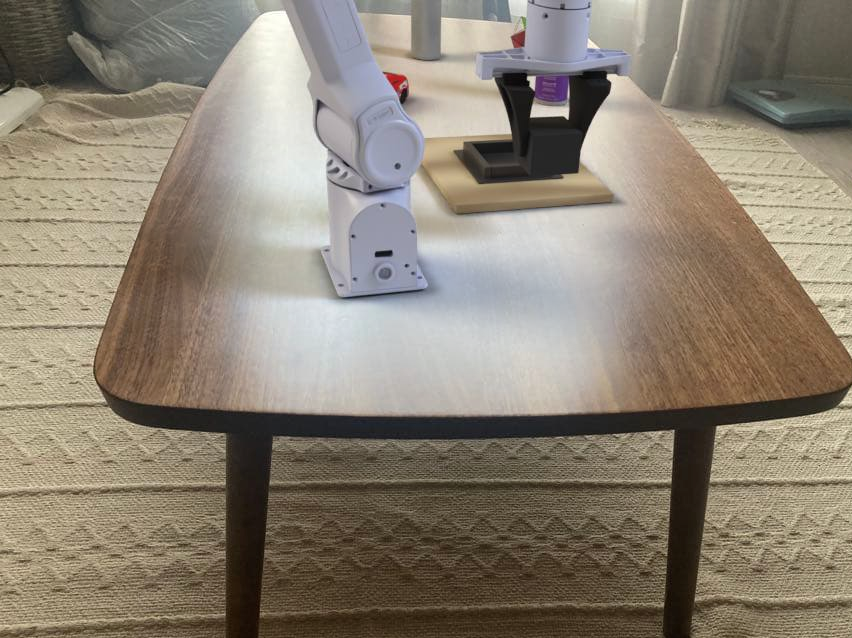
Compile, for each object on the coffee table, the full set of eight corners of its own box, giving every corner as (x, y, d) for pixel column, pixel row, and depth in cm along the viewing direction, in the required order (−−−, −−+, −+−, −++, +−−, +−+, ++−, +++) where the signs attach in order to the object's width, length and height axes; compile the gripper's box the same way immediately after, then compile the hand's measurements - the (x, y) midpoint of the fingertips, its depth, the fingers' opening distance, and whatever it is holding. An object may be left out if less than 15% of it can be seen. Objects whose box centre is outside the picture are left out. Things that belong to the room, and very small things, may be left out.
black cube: (578, 173, 90) (583, 133, 88) (530, 176, 88) (533, 135, 86) (560, 155, 94) (563, 115, 91) (513, 157, 92) (515, 117, 90)
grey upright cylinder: (406, 57, 143) (406, -15, 137) (418, 50, 147) (418, -20, 141) (433, 62, 142) (434, -10, 136) (444, 55, 146) (446, -16, 140)
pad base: (612, 202, 103) (615, 180, 101) (455, 214, 97) (456, 191, 96) (548, 139, 118) (550, 119, 116) (409, 146, 112) (409, 126, 111)
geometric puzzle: (511, 55, 141) (543, 9, 139) (492, 43, 146) (522, -2, 144) (542, 81, 146) (573, 38, 144) (523, 69, 151) (552, 26, 149)
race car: (370, 125, 117) (369, 93, 115) (331, 118, 118) (330, 86, 116) (416, 97, 127) (416, 67, 125) (380, 90, 129) (379, 61, 126)
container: (538, 106, 129) (548, -11, 120) (530, 95, 132) (538, -19, 124) (571, 105, 130) (582, -10, 121) (561, 95, 134) (572, -18, 125)
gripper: (616, -8, 88) (599, 133, 96) (468, -9, 83) (463, 140, 91) (647, 10, 83) (627, 158, 90) (491, 11, 78) (484, 167, 86)
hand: (547, 151), depth 90 cm, fingers closed on black cube, 5 cm apart
